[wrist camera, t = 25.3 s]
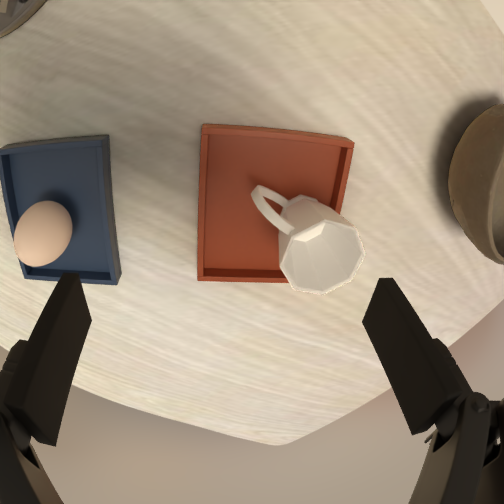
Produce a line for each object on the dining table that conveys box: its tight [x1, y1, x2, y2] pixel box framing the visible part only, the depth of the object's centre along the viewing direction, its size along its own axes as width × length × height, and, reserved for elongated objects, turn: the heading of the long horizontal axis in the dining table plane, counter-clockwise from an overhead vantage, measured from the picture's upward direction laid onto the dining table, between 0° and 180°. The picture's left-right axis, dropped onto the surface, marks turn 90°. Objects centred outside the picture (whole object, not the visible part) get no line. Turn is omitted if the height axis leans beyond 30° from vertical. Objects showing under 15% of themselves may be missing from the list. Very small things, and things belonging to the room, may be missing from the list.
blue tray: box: [0, 135, 121, 285], centre depth 28 cm, size 15×12×2 cm
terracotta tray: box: [197, 124, 354, 283], centre depth 30 cm, size 15×13×2 cm
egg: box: [14, 201, 72, 267], centre depth 25 cm, size 6×6×8 cm
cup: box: [251, 185, 366, 295], centre depth 27 cm, size 7×10×8 cm
